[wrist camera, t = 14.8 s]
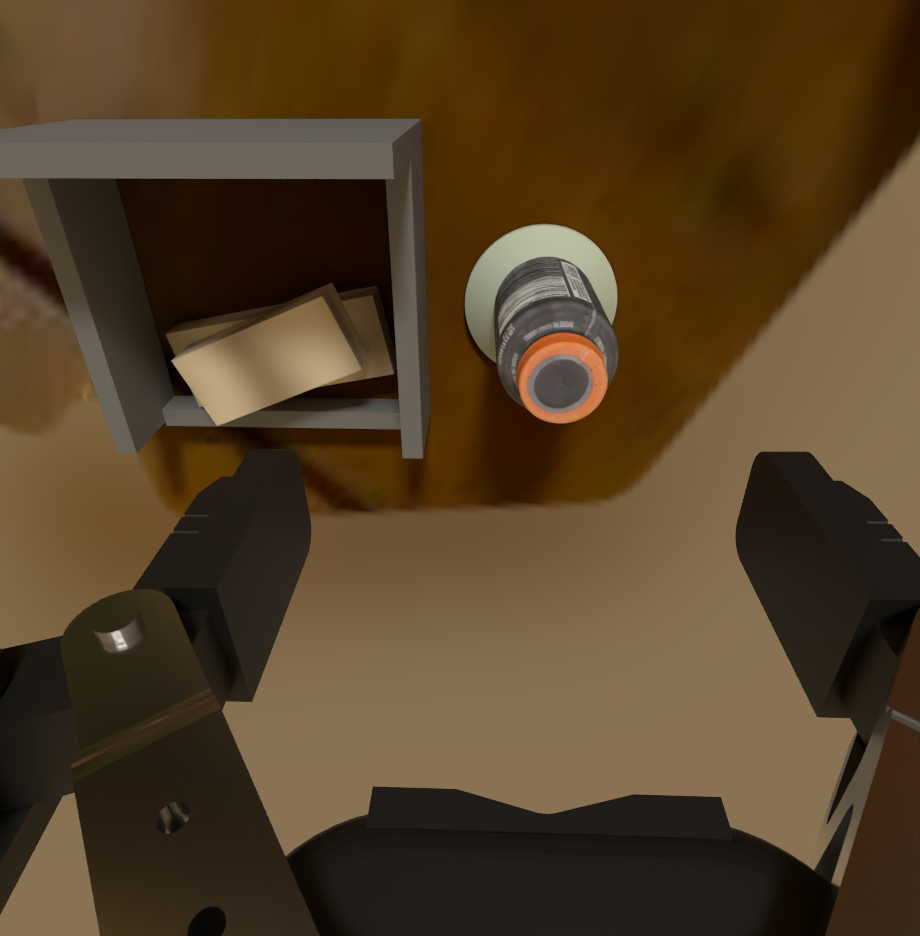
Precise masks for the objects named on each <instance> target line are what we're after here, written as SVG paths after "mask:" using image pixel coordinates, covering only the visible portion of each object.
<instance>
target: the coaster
mask: <svg viewBox="0 0 920 936" xmlns="http://www.w3.org/2000/svg"><path fill="white" fill-rule="evenodd" d="M537 257H557V258H561V259H565V260H567V261H569V262H571V263H573V264H574V265H576V266H577V267H578V268H579V269H580V270H581V271H582V272H583V273H584V274H585V275H586V276H587V278H588V279H589V281H590V283H591V285H592V287H593V289H594V291H595V293H596V295H597V297H598V299H599V301H600V303H601V305H602V307H603V309H604V311H605V313H606V315H607V317H608V319H609V321H610V323H611V325H612V322H613V319H614V316H615V312H616V307H617V286H616V281H615V277H614V274H613V271H612V268H611V266H610V264H609V263H608V261H607V259H606V257H605V256H604V254H603V253H602V252H601V250H600V249H599V248H598V247H597V246H596V245H595V244H594V243H593V242H592V241H591V240H590V239H588V238H587V237H586V236H584V235H583V234H581V233H579V232H577V231H575V230H573V229H570V228H568V227H564V226H560V225H555V224H534V225H529V226H524V227H521V228H518V229H515V230H513V231H511V232H509V233H507V234H505V235H503V236H502V237H500V238H499V239H497V240H496V241H495V242H494V243H493V244H491V245H490V246H489V247H488V248H487V249H486V250H485V252H484V253H483V254H482V255H481V256H480V258H479V259H478V261H477V262H476V264H475V266H474V268H473V270H472V272H471V274H470V277H469V280H468V283H467V288H466V295H465V315H466V320H467V324H468V327H469V330H470V333H471V335H472V337H473V339H474V341H475V342H476V343H477V345H478V346H479V348H480V349H481V350H482V351H483V352H484V353H485V355H486V356H488V357H489V358H490V359H491V360H492V361H494V362H495V363H496V348H495V328H494V307H495V298H496V295H497V292H498V289H499V287H500V285H501V283H502V282H503V280H504V279H505V277H506V276H507V275H508V274H509V273H510V272H511V271H512V270H513V269H514V268H515V267H517V266H518V265H520V264H522V263H524V262H526V261H528V260H531V259H534V258H537Z"/></svg>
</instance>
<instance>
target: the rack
mask: <svg viewBox="0 0 920 936" xmlns="http://www.w3.org/2000/svg"><path fill="white" fill-rule="evenodd" d="M0 178H22V179H23V182H24V185H25V188H26V191H27V194H28V197H29V200H30V202H31V205H32V208H33V211H34V214H35V217H36V220H37V223H38V226H39V229H40V231H41V234H42V237H43V240H44V243H45V246H46V249H47V252H48V255H49V257H50V260H51V263H52V266H53V269H54V272H55V275H56V278H57V281H58V284H59V286H60V289H61V292H62V295H63V298H64V301H65V304H66V307H67V310H68V312H69V315H70V318H71V321H72V324H73V327H74V330H75V333H76V336H77V339H78V341H79V344H80V347H81V350H82V353H83V356H84V359H85V362H86V365H87V367H88V370H89V373H90V376H91V379H92V382H93V385H94V388H95V391H96V394H97V396H98V399H99V402H100V405H101V408H102V411H103V414H104V417H105V419H106V422H107V425H108V428H109V431H110V434H111V437H112V440H113V443H114V446H115V448H116V451H117V453H135V454H137V453H138V452H139V450H140V449H141V448H142V447H143V446H144V445H145V444H146V443H147V442H148V440H149V439H150V438H151V437H152V436H153V435H154V434H155V433H156V432H157V430H158V429H159V428H160V427H161V426H162V425H163V424H164V423H165V422H166V425H167V426H215V427H279V428H342V429H401V439H402V456H403V458H423V455H424V449H425V443H426V437H427V431H428V425H429V419H430V413H431V405H430V374H429V342H428V310H427V279H426V247H425V215H424V184H423V152H422V120H421V119H75V120H67V121H60V122H53V123H45V124H38V125H31V126H23V127H16V128H8V129H1V130H0ZM116 178H141V179H386V194H387V210H388V227H389V243H390V260H391V276H392V292H393V309H394V325H395V341H396V358H397V374H398V390H399V399H375V398H304V397H290V398H288V399H285V400H283V401H280V402H278V403H275V404H273V405H270V406H267V407H265V408H262V409H260V410H257V411H255V412H252V413H250V414H247V415H244V416H242V417H239V418H237V419H234V420H232V421H229V422H227V423H224V424H221V425H219V426H217V425H216V424H215V422H214V421H213V420H212V418H211V417H210V415H209V414H208V412H207V411H206V410H205V408H204V407H199V405H198V403H197V401H196V399H195V397H194V396H175V395H174V391H173V387H172V384H171V380H170V376H169V372H168V369H167V365H166V361H165V358H164V354H163V350H162V347H161V343H160V339H159V336H158V332H157V328H156V325H155V321H154V317H153V314H152V310H151V306H150V303H149V299H148V295H147V292H146V288H145V284H144V281H143V277H142V273H141V270H140V266H139V262H138V259H137V255H136V251H135V248H134V244H133V240H132V237H131V233H130V229H129V226H128V222H127V218H126V215H125V211H124V207H123V204H122V200H121V196H120V193H119V189H118V185H117V182H116Z"/></svg>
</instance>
